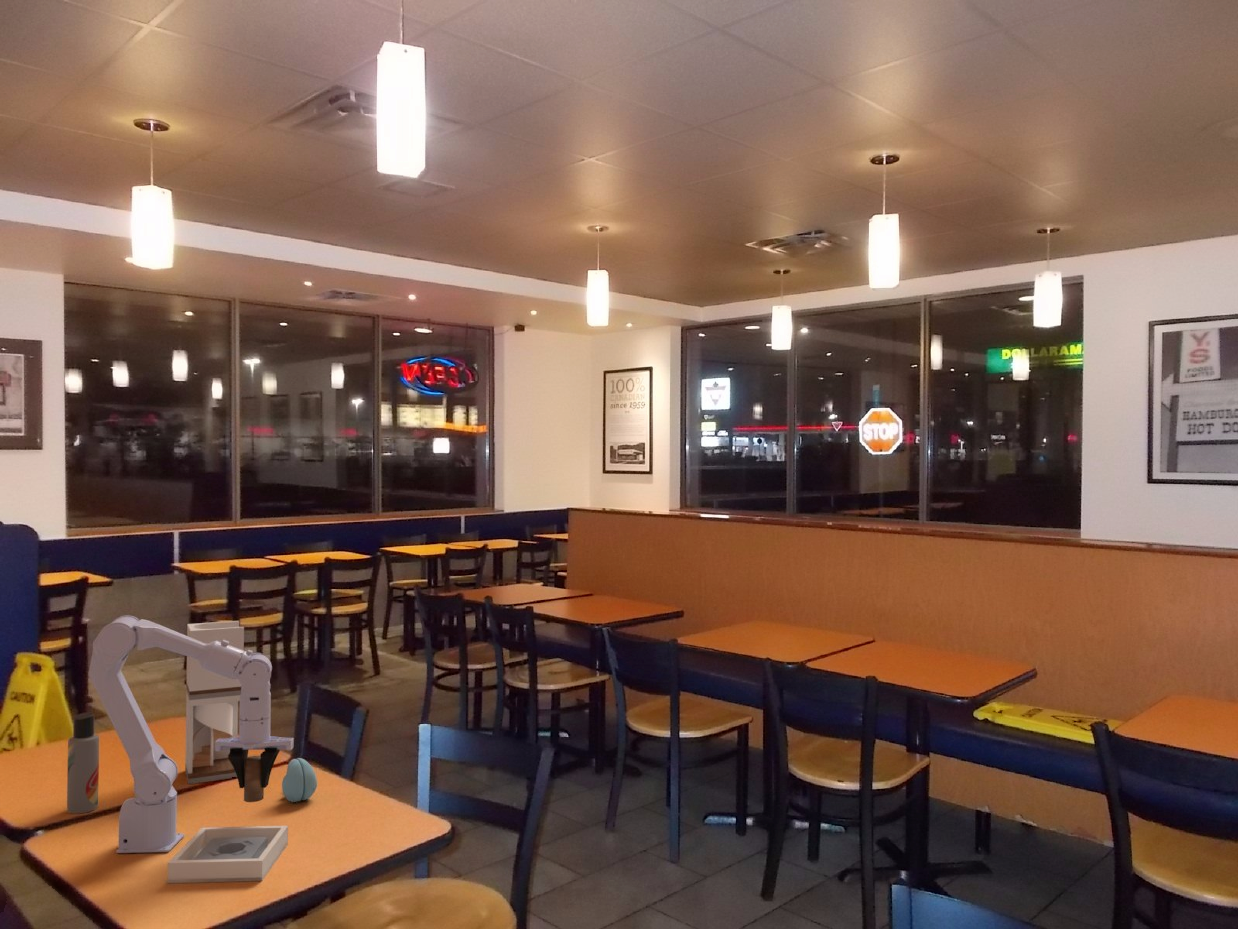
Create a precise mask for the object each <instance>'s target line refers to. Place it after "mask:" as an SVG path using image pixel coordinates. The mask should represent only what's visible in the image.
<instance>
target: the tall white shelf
mask: <svg viewBox="0 0 1238 929" xmlns="http://www.w3.org/2000/svg"><path fill="white" fill-rule="evenodd" d="M186 628H187V630H186V632H187V633H186V634H187V635H186V636H188V637H191V638H193V639H195V640H198V641H200V642H203V643H205V644H208V643H211V642H213V641H219V642H222V640H226V641H229V644H228V645H230V646H233V647H236V648H238V649H241V650H244V651H245V649H244V648H245V647H244V646H245V645H244V644H245V627H244V626H240V621H239V620H231V621H229V620H228V621H217V622H216V621H215V622H213V621H212V622H202V623H201V622H200V623H196V622H195V623H187V627H186ZM243 653H244V652H243ZM242 655H243V654H242ZM233 674H234V673H233ZM232 676H233V675H232ZM231 678H232V677H231ZM231 678H228V677H225V676H223V675H220V674H217V673H214V672H211V671H209V670H206V669H203V668H202V666H201V664H200V662H199V660H198V659H195V658H191V657H188V656H186V688H185V689H186V690H185V691H186V692H185V696H186V697H185V700H186V701H185V702H186V703H185V757H184V758H185V759H184V761H185V762H184V763H185V766H184V767H185V768H184V769H185V770H184V771H186V772H185V776H186V781H187V780H188V781H187V784H188V785H192V784H200V783H206V782H215V781H220V780H227V779H233V778H232V777H236V778H237V775H236V772H235V770H234V768H233V766H232V764H231V762H230V761H229V759H228V755H229V754H230V750H221V751H215V741H217V740H218V739H225V738H236V737H239V731H238V730H239V729H238V728H239V723H238V722H239V702H240V695H241V683H240V681H239V679H231ZM199 782H200V783H199Z"/></svg>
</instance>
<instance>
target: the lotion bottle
mask: <svg viewBox="0 0 1238 929" xmlns="http://www.w3.org/2000/svg"><path fill="white" fill-rule="evenodd" d="M72 721H73V722H72V723H73V726H72V728H73V729H72V736H71V737H69V738H68V739H67V781H66V784H67V785H66V788H67V789H66V811H67V813H69V814H75V815H76V814H85V813H88V812H92V811H94V810H96V809H97V808H98V806H99V785H100V784H99V780H100V779H99V778H100V776H99V774H100V771H99V770H100V768H99V766H100V736H99V734H96V733H95V714H93V713H92V712H82V713H78V714H76V715H74V716H73V720H72Z"/></svg>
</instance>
